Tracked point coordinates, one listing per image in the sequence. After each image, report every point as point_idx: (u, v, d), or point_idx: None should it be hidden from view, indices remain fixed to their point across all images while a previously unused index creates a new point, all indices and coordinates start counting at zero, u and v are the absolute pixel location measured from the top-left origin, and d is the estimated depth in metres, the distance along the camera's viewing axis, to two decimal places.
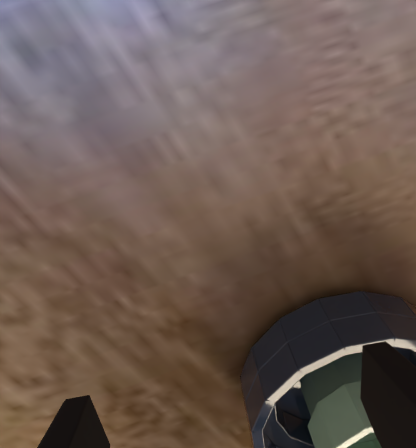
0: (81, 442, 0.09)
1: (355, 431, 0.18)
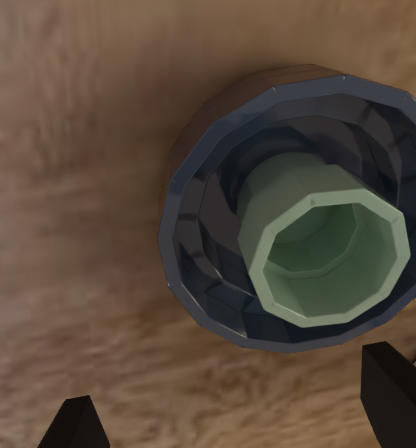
0: (81, 442, 0.09)
1: (252, 282, 0.14)
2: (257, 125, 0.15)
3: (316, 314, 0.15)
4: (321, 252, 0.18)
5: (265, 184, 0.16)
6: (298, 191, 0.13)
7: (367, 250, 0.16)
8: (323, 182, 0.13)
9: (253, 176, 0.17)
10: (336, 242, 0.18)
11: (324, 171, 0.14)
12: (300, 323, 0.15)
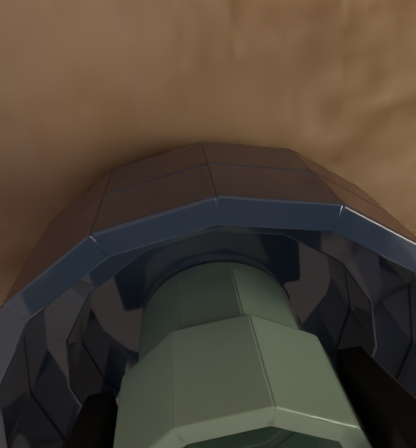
0: (106, 437, 0.09)
1: None
2: (118, 260, 0.10)
3: None
4: None
5: (152, 339, 0.10)
6: (163, 408, 0.07)
7: None
8: (207, 385, 0.08)
9: (148, 311, 0.12)
10: None
11: (222, 341, 0.08)
12: None
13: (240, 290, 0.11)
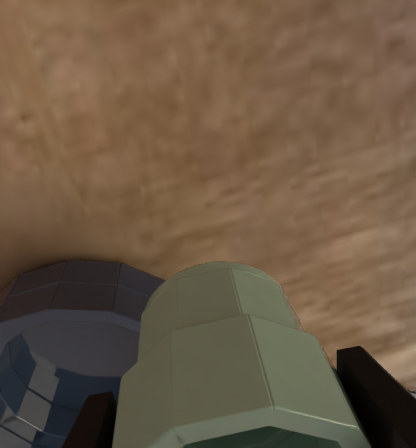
0: (106, 437, 0.09)
1: None
2: None
3: None
4: None
5: (152, 339, 0.10)
6: (162, 408, 0.07)
7: None
8: (206, 385, 0.08)
9: (147, 311, 0.12)
10: None
11: (221, 340, 0.08)
12: None
13: (239, 290, 0.11)
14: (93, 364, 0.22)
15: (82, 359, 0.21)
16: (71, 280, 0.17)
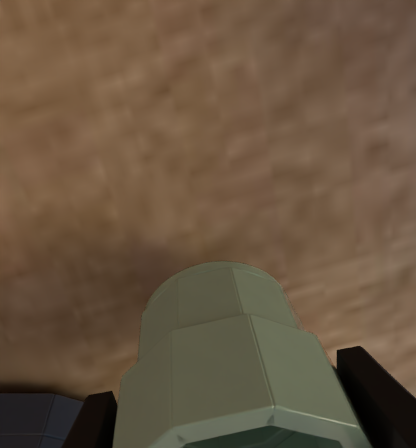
0: (106, 437, 0.09)
1: None
2: None
3: None
4: None
5: (152, 339, 0.10)
6: (162, 407, 0.07)
7: None
8: (206, 384, 0.08)
9: (148, 311, 0.12)
10: None
11: (222, 340, 0.08)
12: None
13: (240, 289, 0.11)
14: None
15: None
16: None
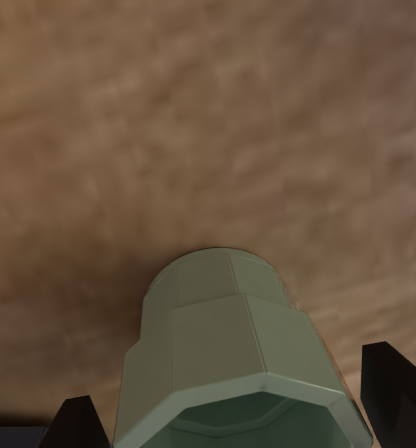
0: (81, 442, 0.09)
1: None
2: None
3: None
4: None
5: (153, 320, 0.11)
6: (163, 376, 0.08)
7: None
8: (204, 355, 0.08)
9: (149, 295, 0.12)
10: None
11: (218, 316, 0.09)
12: None
13: (236, 273, 0.11)
14: None
15: None
16: None
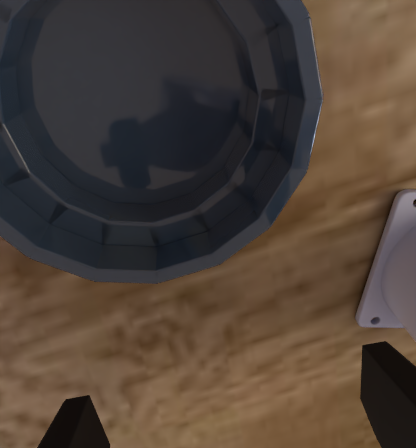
0: (81, 442, 0.09)
1: None
2: None
3: None
4: None
5: None
6: None
7: None
8: None
9: None
10: None
11: None
12: None
13: None
14: (132, 116, 0.16)
15: (117, 106, 0.15)
16: None
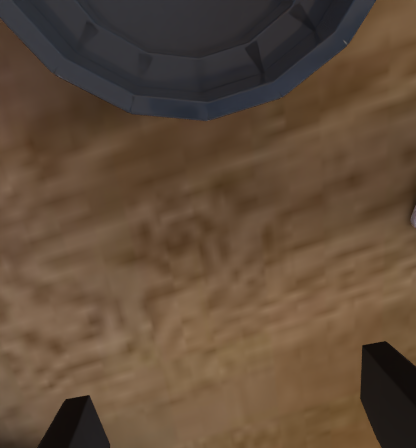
0: (81, 442, 0.09)
1: None
2: None
3: None
4: None
5: None
6: None
7: None
8: None
9: None
10: None
11: None
12: None
13: None
14: None
15: None
16: None
